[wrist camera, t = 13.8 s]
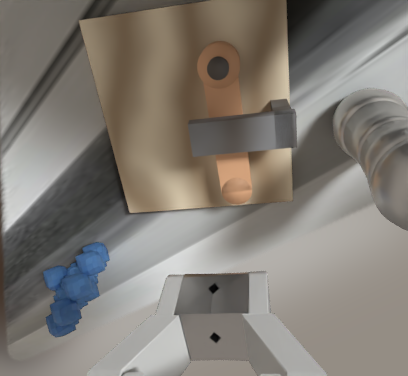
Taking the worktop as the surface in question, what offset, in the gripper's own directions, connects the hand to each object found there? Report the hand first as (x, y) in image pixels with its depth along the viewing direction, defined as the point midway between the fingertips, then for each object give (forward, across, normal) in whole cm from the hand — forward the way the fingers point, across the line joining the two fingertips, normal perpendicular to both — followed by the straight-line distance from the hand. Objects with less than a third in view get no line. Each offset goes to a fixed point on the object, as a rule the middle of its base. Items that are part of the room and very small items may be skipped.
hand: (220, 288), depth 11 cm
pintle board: (+28, +5, +3) cm, 28 cm away
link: (+26, +2, +4) cm, 26 cm away
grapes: (+27, +21, +19) cm, 39 cm away
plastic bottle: (+28, -11, +5) cm, 31 cm away
